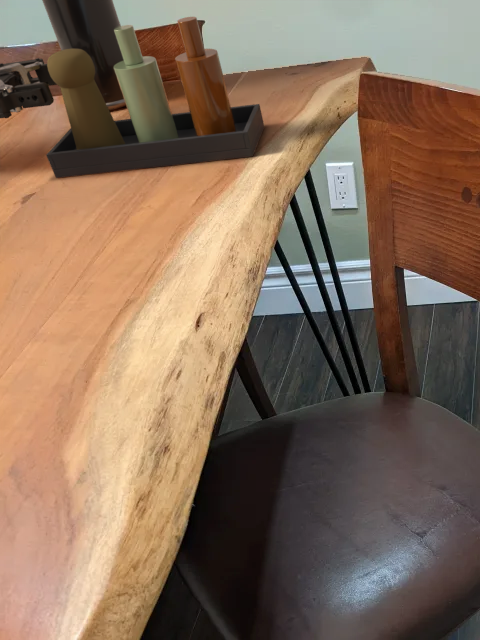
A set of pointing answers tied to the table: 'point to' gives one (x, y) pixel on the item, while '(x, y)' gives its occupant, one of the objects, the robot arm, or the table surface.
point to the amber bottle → (203, 83)
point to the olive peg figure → (83, 100)
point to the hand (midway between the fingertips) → (62, 81)
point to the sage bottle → (143, 90)
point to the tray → (160, 146)
